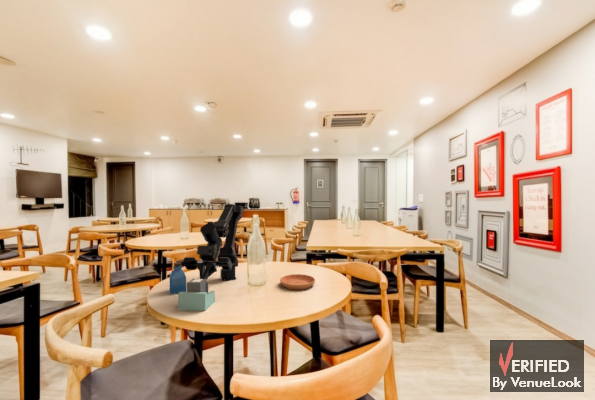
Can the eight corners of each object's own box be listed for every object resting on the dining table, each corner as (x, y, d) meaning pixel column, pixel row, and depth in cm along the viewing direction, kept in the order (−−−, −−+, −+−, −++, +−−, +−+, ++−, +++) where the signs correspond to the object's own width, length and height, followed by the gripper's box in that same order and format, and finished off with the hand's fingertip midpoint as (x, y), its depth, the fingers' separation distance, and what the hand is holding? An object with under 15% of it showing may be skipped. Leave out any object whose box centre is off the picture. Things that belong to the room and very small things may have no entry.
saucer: (321, 288, 114) (321, 281, 114) (287, 293, 108) (286, 286, 108) (306, 278, 129) (306, 272, 129) (275, 282, 123) (275, 276, 123)
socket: (190, 300, 100) (190, 285, 100) (214, 301, 99) (214, 285, 99) (178, 310, 91) (178, 293, 91) (205, 310, 91) (205, 293, 91)
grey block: (193, 301, 98) (193, 277, 98) (208, 302, 98) (208, 277, 98) (185, 307, 93) (185, 282, 93) (201, 308, 92) (201, 282, 92)
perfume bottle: (169, 294, 107) (169, 265, 107) (169, 290, 113) (169, 262, 113) (186, 292, 110) (186, 263, 110) (185, 287, 115) (184, 260, 115)
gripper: (184, 237, 105) (169, 271, 94) (229, 237, 103) (219, 272, 92) (193, 252, 112) (180, 286, 101) (235, 253, 111) (227, 287, 100)
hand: (201, 283), depth 99 cm, fingers closed, pressing on grey block
